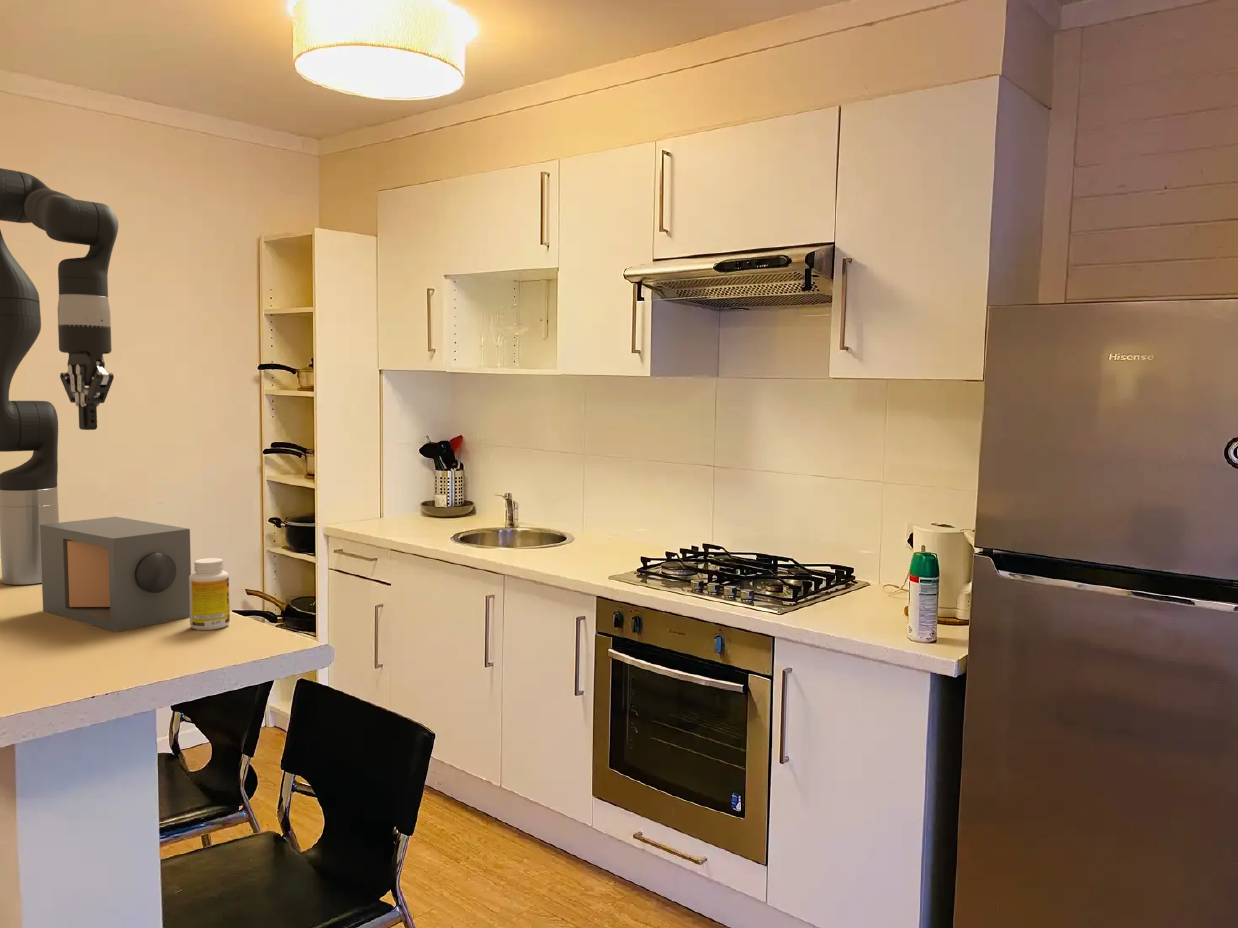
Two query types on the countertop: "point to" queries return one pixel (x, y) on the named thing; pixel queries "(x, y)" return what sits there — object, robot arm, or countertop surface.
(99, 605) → the door
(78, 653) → the countertop surface
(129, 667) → the countertop surface
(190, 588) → the supplement bottle
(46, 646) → the countertop surface
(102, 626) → the housing
